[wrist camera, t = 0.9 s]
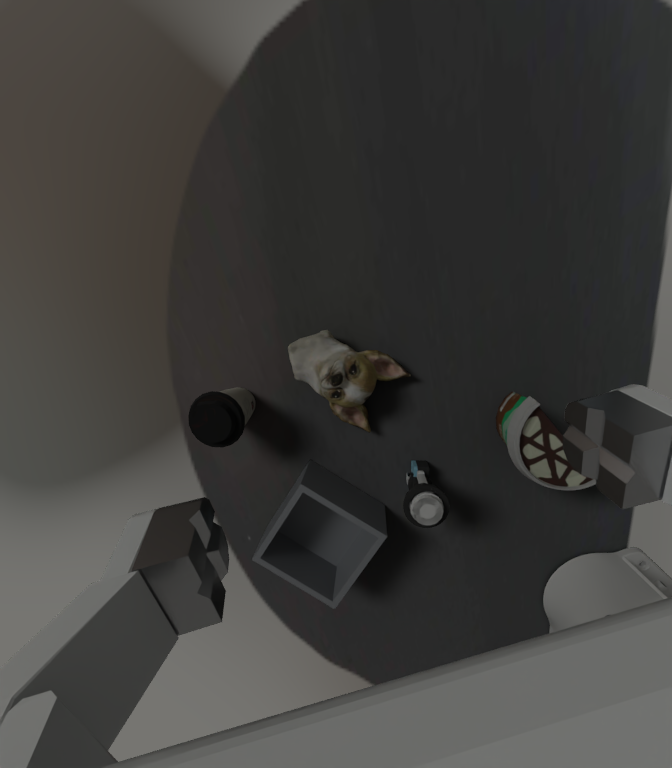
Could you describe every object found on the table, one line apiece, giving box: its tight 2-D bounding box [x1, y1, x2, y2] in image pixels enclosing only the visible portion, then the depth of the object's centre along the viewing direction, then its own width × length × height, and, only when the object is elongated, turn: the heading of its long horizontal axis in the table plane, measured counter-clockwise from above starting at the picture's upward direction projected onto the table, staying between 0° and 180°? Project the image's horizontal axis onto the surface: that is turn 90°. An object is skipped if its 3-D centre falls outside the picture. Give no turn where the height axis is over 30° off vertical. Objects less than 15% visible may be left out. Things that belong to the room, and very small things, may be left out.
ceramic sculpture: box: [288, 330, 411, 432], centre depth 49 cm, size 11×9×15 cm
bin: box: [252, 460, 387, 609], centre depth 53 cm, size 13×13×8 cm
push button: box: [403, 460, 449, 528], centre depth 50 cm, size 7×5×10 cm
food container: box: [496, 392, 596, 490], centre depth 47 cm, size 12×6×10 cm, turn 41°
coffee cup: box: [189, 388, 255, 447], centre depth 50 cm, size 7×7×10 cm
